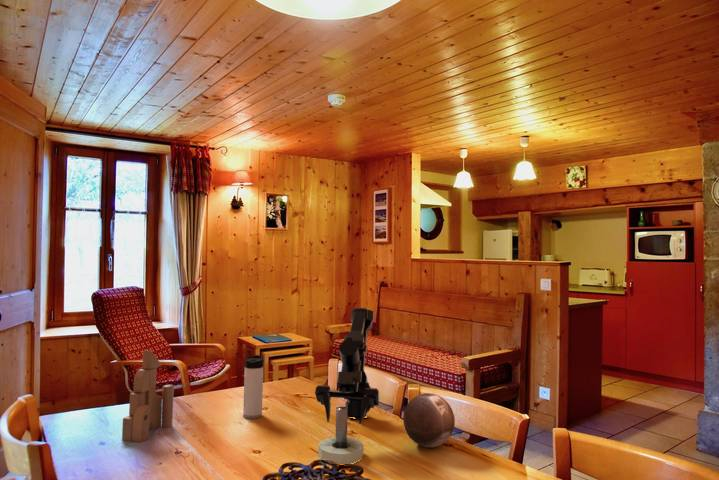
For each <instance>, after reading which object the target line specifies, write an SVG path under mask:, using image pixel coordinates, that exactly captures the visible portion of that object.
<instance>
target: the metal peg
mask: <svg viewBox="0 0 719 480" xmlns="http://www.w3.org/2000/svg"><path fill="white" fill-rule="evenodd" d="M348 420H349V418H348V408H347V407H345V406H338V407H336V411H335V437H336V440H335V448H338V449H345V448H347V437H348Z"/></svg>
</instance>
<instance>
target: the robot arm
mask: <svg viewBox="0 0 719 480" xmlns="http://www.w3.org/2000/svg"><path fill="white" fill-rule="evenodd" d="M350 321H351V326H350V331H349V332H348V334H347V333H346V334H345V336H344V338H343V341H341V343H340V344H339V346H338V351H339V355H340V361H341V363H342V365H341V371H338V372H337V385H336V386H337V389H338V390H331V388H330V385H323V384H318V385H317V386H316V387H315V391H314V394H315V398H316V402H318V403H320V405H322V406H324V409H325V416H326V422H327V423H329V422H330V418H331V408H332V407H331V403H332V402H331V399H332V398H336V399H337V398H341V399H344V400H346V402H345V406H344V407H347V408H348V417H355V418H359V419H358V420H359V421H358V424H359V425H361V424H362V423H363V422H364V417H365V416H366V415H367V414H368V412H369V411H370V410H371V409H374V408H375V406H377V407H379V405H380V391H379V389H378V388H377V387H376V388H374V387H371V385H370V382H368V381H369V379H368V377H367V376H368V375H367V374H366V372H365V366H366V364H365V363H366V354H367V351H368V344H367V341H368V340H367V339H368V333H369V332H371V330H372V328H373V323H374V322H375V312H374V311H373V310H372V309H368V308H366V307H355V308H353V309H351V310H350ZM350 419H353V418H350ZM350 419H349V420H350Z"/></svg>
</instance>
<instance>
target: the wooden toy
mask: <svg viewBox="0 0 719 480" xmlns="http://www.w3.org/2000/svg"><path fill="white" fill-rule="evenodd" d="M161 366H162V363H161V362H160V361H159V359H158V357H156V355H155V354H154V353H153V352H152V350H151V349H143V350H142V366H141V368H140V369H138V370H137V371H136V373H135V374H134V377H133V392H131V393H130V394H129V406H128V407H129V410H128V411H129V413H128V415H127V416H125V417H122V430H121V431H122V435H121V440H122V441H126V442H136V443H142V442H144V441H146V440H147V439H149V433H150V432H149V431H150V430H155V429H158V428H159V427H161V428H166V429H168V428H171V427H173V421H174V420H173V419H174V418H173V417H174V416H173V415H174V414H173V413H174V394H175V393H174V392H175V391H174V388H175V386H174V385H173V384H165V385H163V386H162V396H160V395H158V394H157V390H156V389H157V369H158V368H160V367H161Z"/></svg>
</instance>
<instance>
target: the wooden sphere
mask: <svg viewBox="0 0 719 480" xmlns="http://www.w3.org/2000/svg"><path fill="white" fill-rule="evenodd" d="M402 422H403V427H404V430H405V432H406V434H407V436H408V437H409V438H410V440H412V441H413V442H414V443H415V444H416V445H418V446H421V447H424V448H429V447H431V448H437V447H440V446H441V445H443V444H445V443H446V442H447V441H449V439H450V438H451V436H452V434H453V433H454V430H455V422H456V419H455V413H454V411H453V409H452V406H451V405H450V404H449V402H448V401H447V400H446V399H444V398H443V397H442V396H440V395H438V394H436V393H431V392H427V393H426V392H425V393H421V394H418V395H416V396H414V397H413V398H412V399H411V400H409V402H408V403H407V404H406V406H405V408H404V412H403V419H402Z"/></svg>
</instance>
